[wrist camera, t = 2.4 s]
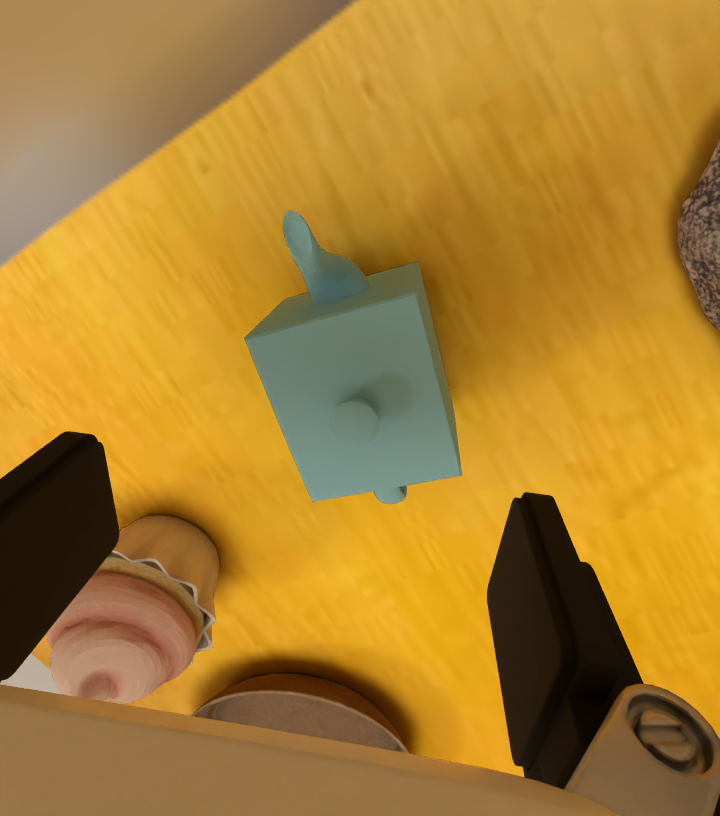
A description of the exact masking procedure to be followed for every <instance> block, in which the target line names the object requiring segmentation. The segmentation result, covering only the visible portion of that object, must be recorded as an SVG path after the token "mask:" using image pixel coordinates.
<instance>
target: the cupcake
mask: <svg viewBox="0 0 720 816" xmlns="http://www.w3.org/2000/svg"><path fill="white" fill-rule="evenodd" d="M119 533H120V534H119V540H118V543H117V545H116V547H115V548H114V549H113V551H112V552H111V553H110V554H109V556H108V557H107V558H106V559H105V561H104V562H103V563H102V564H101V566H100V567H99V568H98V569H97V571H96V572H95V573H94V574H93V576H92V577H91V578H90V579H89V581H88V582H87V583H86V584H85V586H84V587H83V588H82V589H81V591H80V592H79V593H78V594H77V596H76V597H75V598H74V599H73V601H72V602H71V603H70V604H69V606H68V607H67V608H66V609H65V611H64V612H63V613H62V614H61V616H60V617H59V618H58V619H57V621H56V622H55V623H54V624H53V626H52V627H51V628H50V629H49V631H48V632H47V641H48V643H49V645H50V647H51V656H50V668H51V673H52V677H53V680H54V682H55V684H56V687H57V688H58V690H59V691H60V692H61V693H62V694H63V695H68V696H74V697H80V698H87V699H93V700H99V701H103V700H108V701H110V702H117V703H130V702H134V701H137V700H139V699H141V698H143V697H145V696H147V695H149V694H151V693H152V692H153V691H154V690H155V689H157V688H158V687H160V686H161V685H162V684H163V683H164V682H167V681H170V680H172V679H174V678H176V677H177V676H178V675H179V674H181V673H182V672H183V671H184V670H185V669H186V668H187V667H188V666H190V665H191V664H192V663H193V657H194V655H195V652H199V651H205V650H209V649H211V648H213V643H212V628H211V626H212V625H213V624H214V622H215V619H216V617H215V610H214V602H213V599H214V595H215V590H216V585H217V580H218V575H219V570H220V566H219V558H218V554H217V551H216V548H215V546H214V544H213V543H212V541H211V540H210V539H209V538H208V537H207V535H205V534H204V533H203V532H202V531H201V530H200V529H199V528H198V527H196V526H194V525H192V524H191V523H189V522H187V521H184V520H182V519H179V518H176V517H173V516H166V515H151V516H147V517H144V518H141V519H138V520H136V521H134V522H132V523H131V524H129V525H128V526H127V527H125V528H124V529H123V530H121V531H120V532H119Z"/></svg>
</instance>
